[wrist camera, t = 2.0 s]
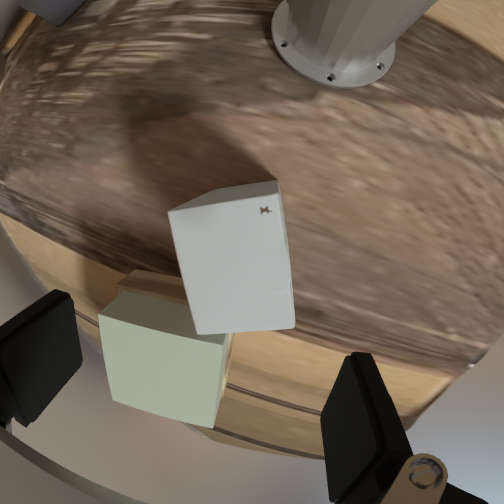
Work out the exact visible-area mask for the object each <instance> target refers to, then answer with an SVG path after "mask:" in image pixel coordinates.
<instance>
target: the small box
mask: <svg viewBox="0 0 504 504" xmlns="http://www.w3.org/2000/svg"><path fill="white" fill-rule="evenodd" d="M167 216H168V220H169V225H170V230H171V234H172V239H173V243H174V248H175V252H176V257H177V261H178V265H179V269H180V273H181V278H182V281H183V285H184V290H185V293H186V297H187V301H188V305H189V308H190V312H191V316H192V319H193V323H194V326H195V330H196V334H198V335H205V334H222V333H237V332H252V331H266V330H278V329H291V328H294V327H295V311H294V300H293V289H292V278H291V267H290V257H289V249H288V240H287V232H286V224H285V217H284V210H283V203H282V197H281V191H280V186H279V181H278V180H273V181H266V182H259V183H252V184H245V185H239V186H232V187H226V188H219V189H215V190H212V191H210V192H207V193H205V194H203V195H201V196H199V197H197V198H194V199H192V200H190V201H188V202H186V203H183V204H182V205H179V206H177V207H175V208H173V209H171V210H170V211H168V212H167Z"/></svg>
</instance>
